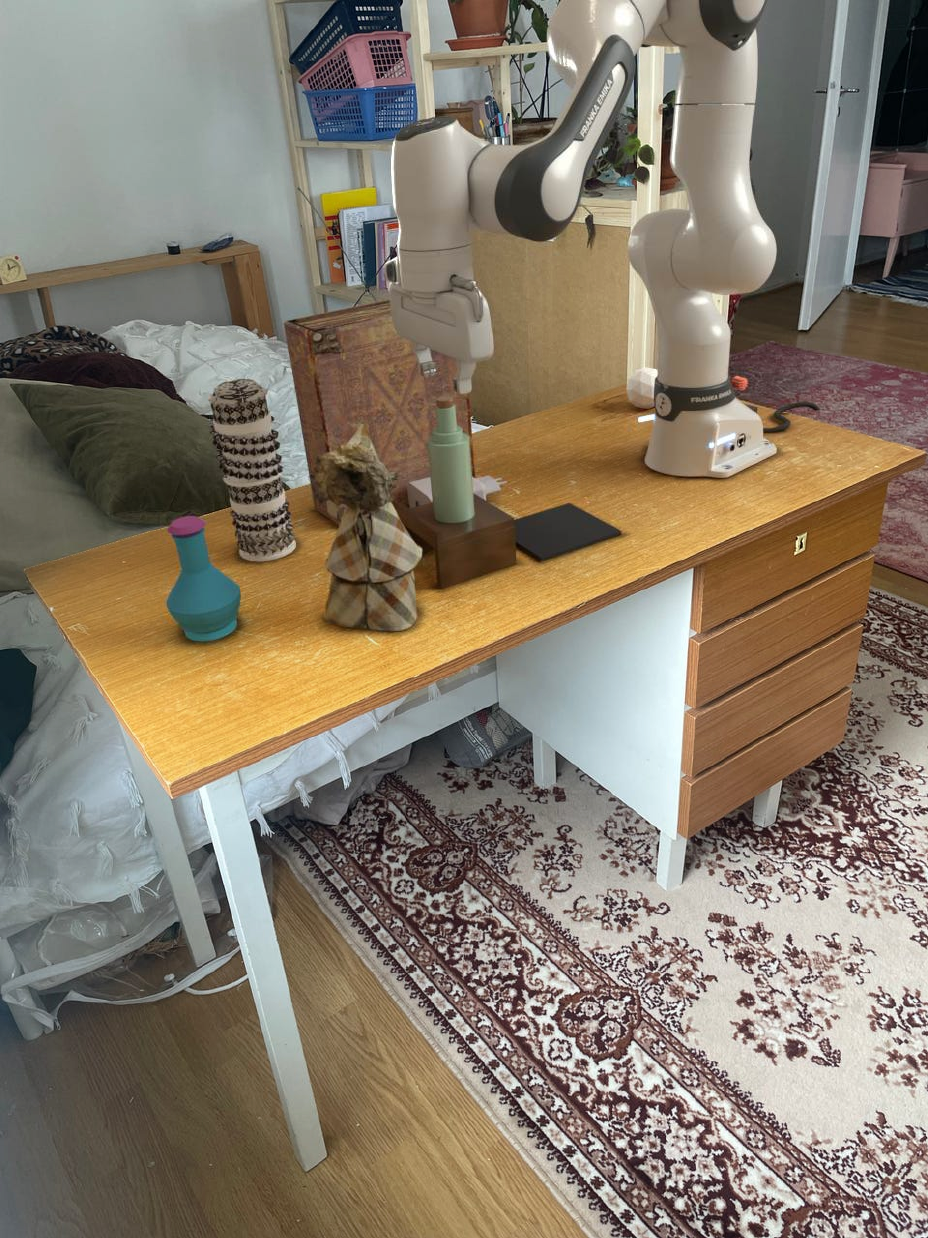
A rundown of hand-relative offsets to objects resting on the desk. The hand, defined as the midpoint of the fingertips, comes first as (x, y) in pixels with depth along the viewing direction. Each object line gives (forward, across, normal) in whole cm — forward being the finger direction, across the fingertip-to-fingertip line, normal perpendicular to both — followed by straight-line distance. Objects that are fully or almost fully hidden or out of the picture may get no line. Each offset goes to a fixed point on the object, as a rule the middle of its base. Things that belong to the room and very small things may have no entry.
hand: (444, 383), depth 120 cm
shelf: (+25, 0, 0) cm, 25 cm away
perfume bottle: (+26, +3, +35) cm, 44 cm away
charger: (+25, +16, -10) cm, 31 cm away
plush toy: (+26, -7, +15) cm, 31 cm away
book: (+25, +26, -3) cm, 36 cm away
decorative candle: (+26, +21, +21) cm, 39 cm away
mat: (+25, -1, -16) cm, 30 cm away
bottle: (+18, 0, 0) cm, 18 cm away
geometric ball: (+25, +35, -62) cm, 75 cm away
